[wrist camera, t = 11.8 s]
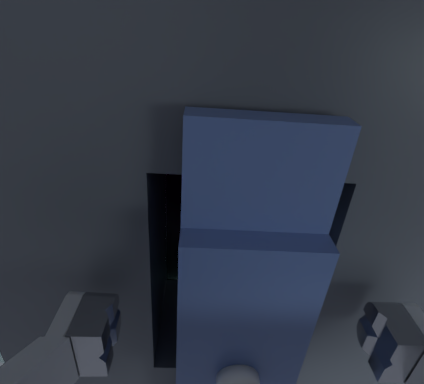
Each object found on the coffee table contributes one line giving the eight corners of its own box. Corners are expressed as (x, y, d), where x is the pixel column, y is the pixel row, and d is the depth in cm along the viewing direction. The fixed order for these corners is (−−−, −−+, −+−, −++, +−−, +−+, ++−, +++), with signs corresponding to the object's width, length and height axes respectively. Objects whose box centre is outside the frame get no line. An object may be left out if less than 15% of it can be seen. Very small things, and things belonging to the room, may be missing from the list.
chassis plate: (501, 4, 11) (688, -4, 7) (351, 342, 20) (391, 431, 16) (-18, -39, 10) (-178, -79, 6) (70, 335, 20) (31, 427, 15)
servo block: (293, 78, 12) (394, 148, 6) (251, 306, 19) (277, 465, 12) (192, 72, 12) (177, 136, 6) (184, 304, 19) (173, 465, 12)
